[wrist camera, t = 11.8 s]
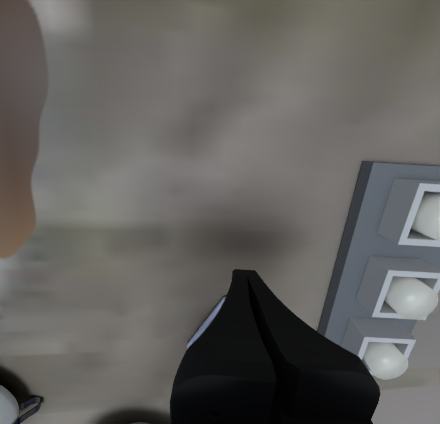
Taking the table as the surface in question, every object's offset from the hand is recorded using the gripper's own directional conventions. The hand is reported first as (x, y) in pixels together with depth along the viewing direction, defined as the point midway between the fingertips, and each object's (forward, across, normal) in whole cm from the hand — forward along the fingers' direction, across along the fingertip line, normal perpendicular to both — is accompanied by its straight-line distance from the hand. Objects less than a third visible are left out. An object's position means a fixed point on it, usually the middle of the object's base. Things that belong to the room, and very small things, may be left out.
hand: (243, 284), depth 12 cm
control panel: (+10, -17, +5) cm, 20 cm away
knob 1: (+8, -17, +13) cm, 23 cm away
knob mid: (+8, -17, +5) cm, 19 cm away
